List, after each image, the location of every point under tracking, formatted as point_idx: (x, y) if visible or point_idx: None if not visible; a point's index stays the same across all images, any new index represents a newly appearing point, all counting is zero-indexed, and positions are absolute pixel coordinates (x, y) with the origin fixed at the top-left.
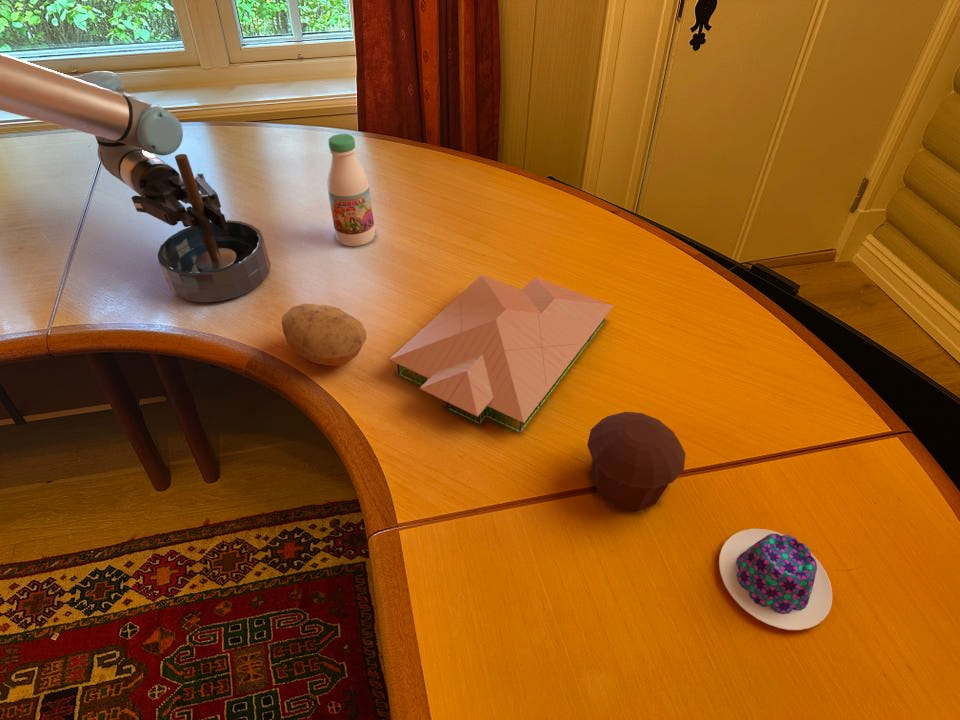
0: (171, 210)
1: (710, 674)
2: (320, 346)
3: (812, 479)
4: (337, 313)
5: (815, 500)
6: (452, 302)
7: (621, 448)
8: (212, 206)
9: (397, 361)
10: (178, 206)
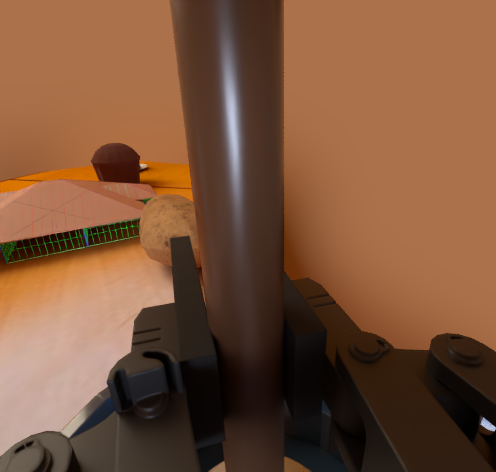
0: (442, 351)
1: (174, 166)
2: None
3: (65, 177)
4: (157, 203)
5: (77, 175)
6: (24, 237)
7: (127, 146)
8: (159, 344)
9: None
10: (396, 386)
